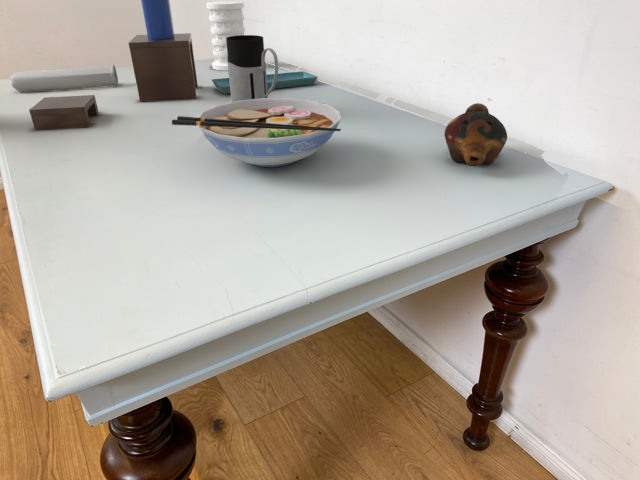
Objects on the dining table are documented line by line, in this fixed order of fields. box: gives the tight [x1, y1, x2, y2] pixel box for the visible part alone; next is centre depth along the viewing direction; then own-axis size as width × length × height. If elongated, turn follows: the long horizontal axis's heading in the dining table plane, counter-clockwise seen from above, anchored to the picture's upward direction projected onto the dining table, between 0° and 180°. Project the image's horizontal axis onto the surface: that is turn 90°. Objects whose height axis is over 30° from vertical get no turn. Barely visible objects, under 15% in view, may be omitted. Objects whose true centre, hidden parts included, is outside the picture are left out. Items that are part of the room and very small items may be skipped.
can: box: [140, 0, 175, 40], centre depth 110 cm, size 6×6×9 cm
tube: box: [10, 64, 119, 93], centre depth 124 cm, size 5×5×25 cm
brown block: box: [128, 32, 199, 103], centre depth 116 cm, size 13×13×13 cm
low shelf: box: [29, 94, 100, 131], centre depth 98 cm, size 10×10×4 cm
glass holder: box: [226, 34, 279, 102], centre depth 99 cm, size 9×14×15 cm, turn 44°
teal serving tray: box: [211, 70, 319, 95], centre depth 124 cm, size 26×9×2 cm, turn 117°
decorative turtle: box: [444, 102, 508, 167], centre depth 77 cm, size 10×15×8 cm, turn 170°
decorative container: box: [205, 0, 246, 72], centre depth 144 cm, size 12×12×18 cm
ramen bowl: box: [171, 97, 342, 168], centre depth 77 cm, size 25×23×8 cm
